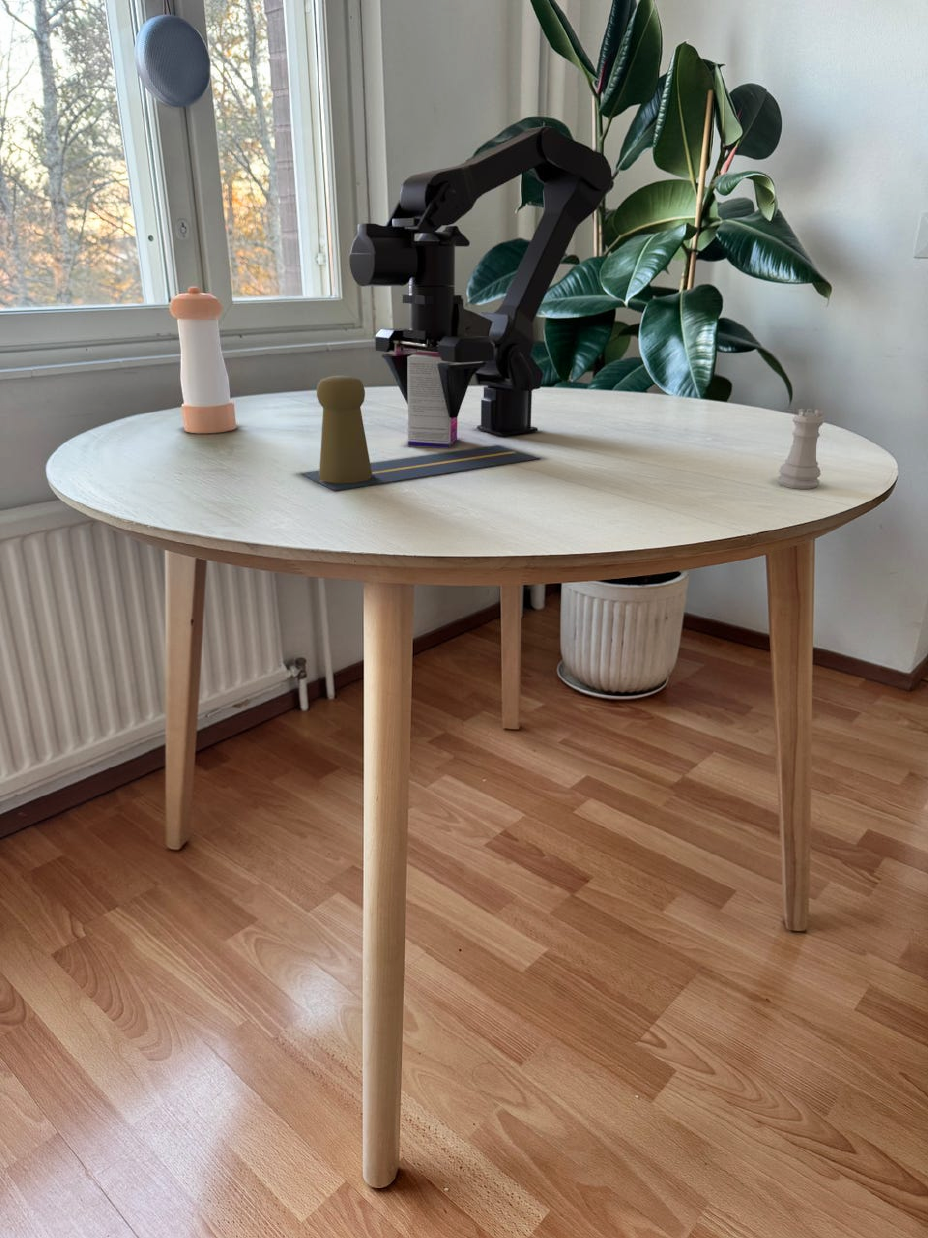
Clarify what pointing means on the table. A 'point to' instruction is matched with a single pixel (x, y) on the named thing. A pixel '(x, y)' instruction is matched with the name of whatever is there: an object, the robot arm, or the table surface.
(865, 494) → the table surface
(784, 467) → the rook chess piece
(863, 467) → the table surface
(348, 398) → the cork
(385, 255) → the robot arm
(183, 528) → the table surface
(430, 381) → the supplement box
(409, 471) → the line mat
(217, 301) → the salt shaker
